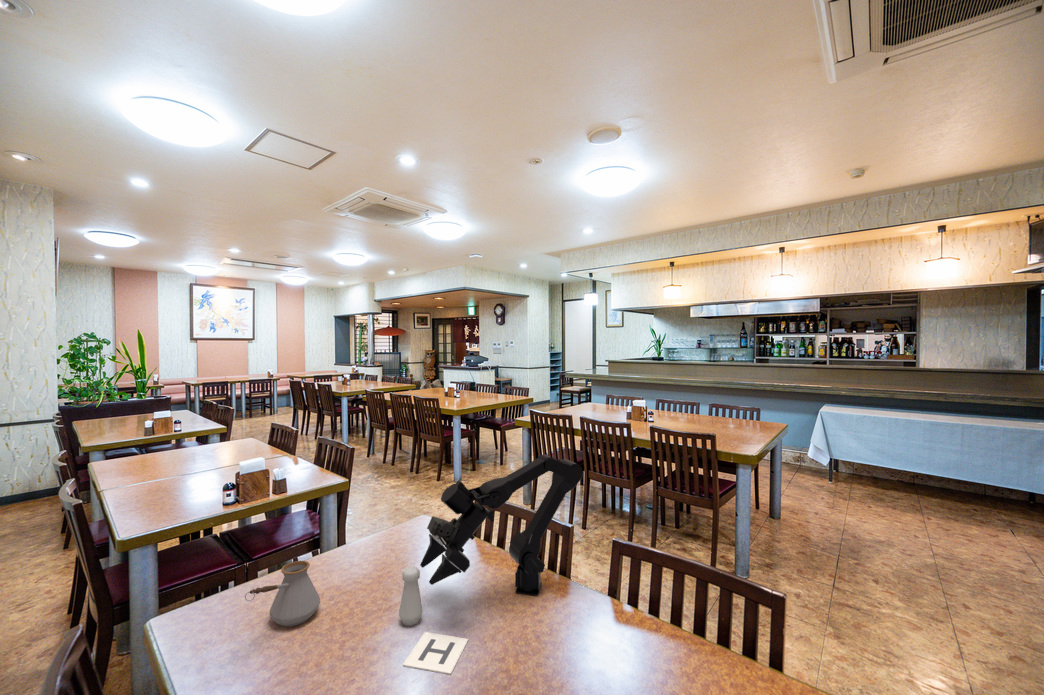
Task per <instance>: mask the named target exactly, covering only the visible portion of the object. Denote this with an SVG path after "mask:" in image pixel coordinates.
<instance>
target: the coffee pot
mask: <svg viewBox="0 0 1044 695" xmlns="http://www.w3.org/2000/svg"><path fill="white" fill-rule="evenodd" d="M309 568H310V562H308V561H306V560H297V561H292V562H289V563H285V564H284V565H283V566H282V567H281V569H280V570H281V573H282V574H283V579H282V581H281V584H275V585H265V586H262V587H256V588H254V589H251V590H249V591H247V592H246V593H245V595H244V600H245V601H247V602H250V601H253V600H254V598H255V597H256V595H255V594H257V595H258V594H260V593H269V592H272V591H274V590H277V593H276V595H275V597H274V599H273V602H272V604H271V606H270V609H269V616H270V618H271V619H272V621H273V622H275V623H276V624H278V625H279V626H282V627H295V626H298V625H301V624H303V623H306V621H308V620H310V619H311V617H312V616H313V615H314V614H315V612H316V611H317V610H318V609H319V606H320V604H321V597H320V595H319V593H318V591H317V590H316V587H315V586H314V583H313V582H312V579H311V577H310V576H309V574H308V569H309ZM247 594H251V595H253V598H251V600H249V599H247V598H246V597H247Z"/></svg>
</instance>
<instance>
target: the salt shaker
mask: <svg viewBox="0 0 1044 695" xmlns="http://www.w3.org/2000/svg"><path fill="white" fill-rule="evenodd" d="M401 576H402V581H404V583H403V588H402V594H401V598H400V604H399V609H398V610H399V611H398V617H399V618H400V620H401V622H402V624H403V626H404V627H405V626H407V627H412V626H415V625H418V623H419V621H420V618H421V617H422V614H423V611H424V610H423V604H422V598H421V592H420V584H419V579H420V577H421V572H420V569H419V568H418V567H417V566H408V567H406V568H405V569H404V570H402V575H401Z"/></svg>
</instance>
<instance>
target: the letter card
mask: <svg viewBox="0 0 1044 695" xmlns="http://www.w3.org/2000/svg"><path fill="white" fill-rule="evenodd" d="M468 642H469V638H465V637H458V636H452V635H447V634H446V635H445V634H441V633H435V632H429V631H428V632H427V631H424V632H423V635H422V636H421V637H420V639H419V641H417V643H416V645H415V646H414V647H413V649H412V650H411V652H410V653H409V655H408V656H407V657H406V659H405V661H404V662H403V663H402V667H407V668H412V669H417V670H423V671H428V672H434V673H439V674H445V675H452V673H453V671H454V669H455V667H456V666H457V664H458V661H459V660H460V659H461V658H460V657H461V656H462V653H463V651H464V650H465V648H466V646H467V643H468Z"/></svg>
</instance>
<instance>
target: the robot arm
mask: <svg viewBox="0 0 1044 695" xmlns="http://www.w3.org/2000/svg"><path fill="white" fill-rule="evenodd" d="M548 472H552V477H551V485H550V487H549V488H548V490H547V492H546V494H545V495H544V497H543V500H542V501H541V503H540V505H539V506H538V508H537V510H536V512H535V514H534V515H533V516H532V519H531V520H530V523H529V524H528V526H527V528H526V529H524V530H522V531H521V532H520V530H516V531H515V534H514V536H513V538H512V539H511V540H510V541H509V544H510V546H509V548H508V551H509V555H510V557H511V558H512V559H513V560H514V562H515V563H517V565H518V566H517V567H516V568H517V569H516V571H515V573H514V574H515V579H514V580H515V581H514V584H515V586H514V587H515V593H516V594H522V595H529V596H535V597H537V596H538V597H539V594H540V590H541V589H542V586H543V585H542V584H543V582H541V573H543V572H544V569H545V566H546V563H544V562H543V561H542V560H541V559H540V558H538V557H539V554H540V552H541V544H542V538H543V535H544V534H545V532H546V531H547V529H548V527H549V525H550V523H551V521H552V520H553V518H554V516H555V514H556V512H557V510H558V509H559V507H560V505H561V503H562V502H563V499H564V497H566V495H567V493H569V492H570V491H572V490H573V489H574V488H576V487H577V486H578V484H579V482H580V481H581V480H582V478H583V475H584V472H583V468H582V466H581V465H579V464H578V463H576V462H574V461H571V460H569V459H567V458H563V459H556V458H554V457H552V456H550V455H547V454H540V455H539V456H538V457H537V458H536V459H534V460H532V461H530V462H529V463H527V464H526V465H523V466H522V467H520V468H518V469H516V470H515V471H513V472H511V473H509V474H508V475H506V476H503V477H498V478H493V479H490V480H487V481H485V482H483V483H482V484H480V485H479V486H477V487H473V488H469V489H468V488H467V487H466V485H465V484H464V483H463V482H462V481H461V480H457V482H456V483H452V484H450V485H449V486H448V487H446V488H445V489H444V491H443V493H442V494H441V497H440V500H441V502H442V503H443V504H444V505H445V506H446V507H448V508H449V509H450V510H451V511H452V512H454V514H456V515H459V517H458V518H456V517H454V518H452V519H451V520H450V521H448V520H446V519H443V518H441V517H436V516H434V515H433V516H431V518H430V519H429V520H430V521H429V523H428V525H427V527H426V529H427V530H428V531H429V534H428V537H429V544H428V547H427V550H426V552H425V554H424V555H423V558H422V560H421V562H420V567H421V568H425V567H426V566H428V565H429V564H431V563H432V562H433V561H435V560H436V559H437V558H439V557H440V556H441V562H440V564H439V565H438V567H437V569H436V570H435V571H434V573H433V575H432V576H431V578H429V581H428V583H429V585H432V586H433V585H435V584H438V583H439V582H440V581H441V582H442V580H444V579H446V578H449V577H451V576H453V575H456V574H458V573H459V574H461V573H462V572H463V573H466V572H467V570H469V568H470V566H471V564H470V562H471V561H470V559H469V558H468V556H467V555H466V554H465V553H464V552H465V549H464V547H465V545H466V544H467V542H468V541H469V540H472V541H474V539H475V538H476V537H475V535H474V534H475V533H476V531H477V530H478V529H479V528H480V527H481V525H482V524H483V522H485V520H486V519H488V520H489V521H490V522H494V520H495V519H494V510H496V509H499V508H500V507H502V506H503V505H505V504H506V502H508V501H509V500H510V499H511V497H512V495H513V494H514V493H515V492H517V490H520V489H521V488H523V487H525V486H526V485H528V484H529V483H531V482H533V481H535V480H536V479H538V478H540V477H541V476H543V475H544V474H546V473H548ZM474 501H476V502H477V503H475V502H474ZM486 506H487V507H488V508H487V507H486Z"/></svg>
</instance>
